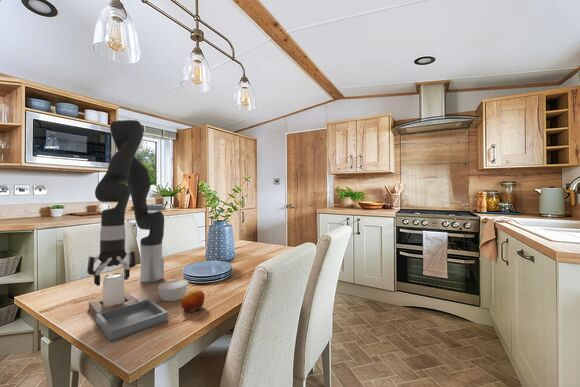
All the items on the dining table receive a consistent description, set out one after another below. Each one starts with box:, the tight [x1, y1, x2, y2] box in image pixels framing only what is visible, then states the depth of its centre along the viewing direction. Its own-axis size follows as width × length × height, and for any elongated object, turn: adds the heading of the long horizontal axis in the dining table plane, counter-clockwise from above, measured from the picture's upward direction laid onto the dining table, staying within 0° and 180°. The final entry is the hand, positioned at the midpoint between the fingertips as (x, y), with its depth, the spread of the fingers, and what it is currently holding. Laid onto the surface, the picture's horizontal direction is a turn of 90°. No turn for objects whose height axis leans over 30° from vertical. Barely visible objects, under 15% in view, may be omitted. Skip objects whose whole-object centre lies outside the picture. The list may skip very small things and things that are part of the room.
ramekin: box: [157, 279, 189, 302], centre depth 104 cm, size 11×11×5 cm
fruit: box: [180, 289, 206, 313], centre depth 93 cm, size 8×8×8 cm
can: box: [102, 272, 126, 308], centre depth 94 cm, size 6×6×12 cm
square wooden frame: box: [88, 291, 140, 318], centre depth 94 cm, size 12×12×2 cm
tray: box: [95, 298, 169, 343], centre depth 84 cm, size 16×16×3 cm
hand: (112, 282), depth 93 cm, fingers open, 8 cm apart
